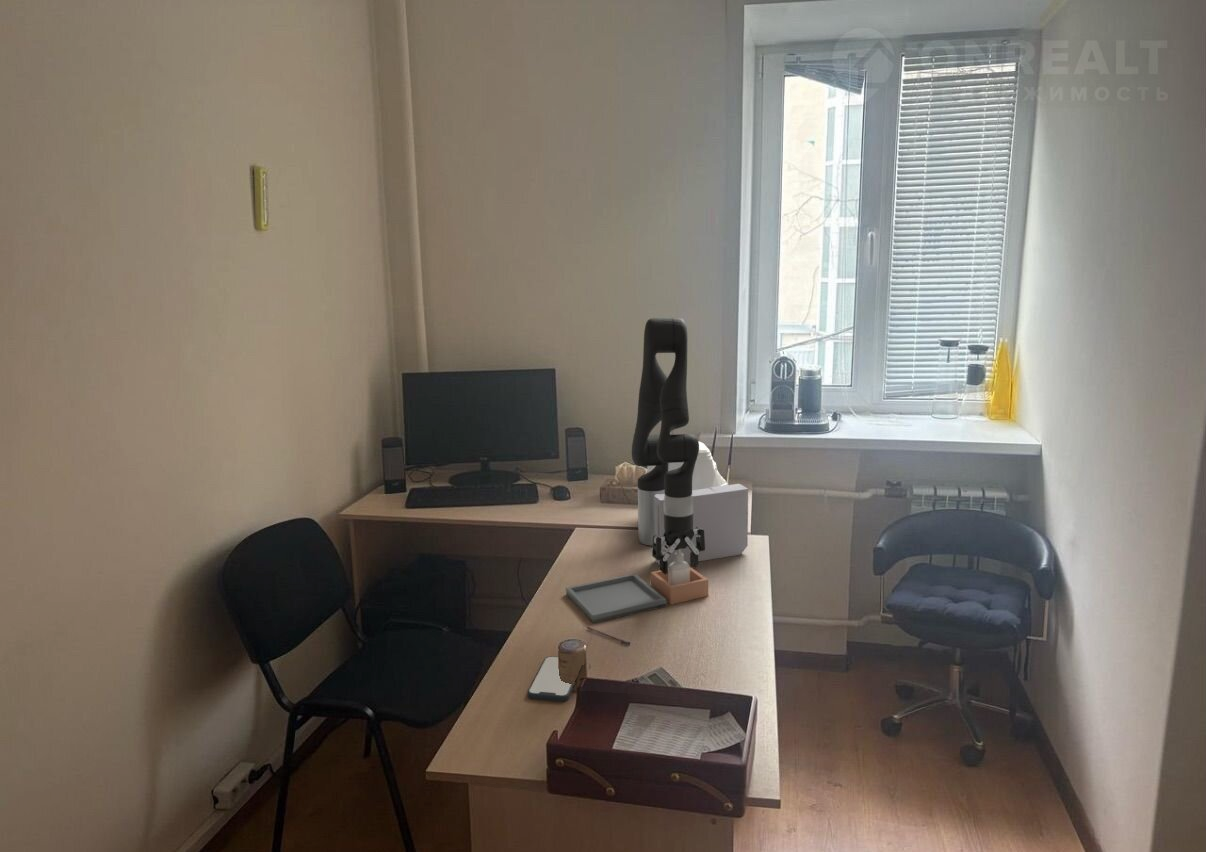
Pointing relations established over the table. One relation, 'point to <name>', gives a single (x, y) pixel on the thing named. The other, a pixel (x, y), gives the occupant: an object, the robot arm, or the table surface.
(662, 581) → the holder box
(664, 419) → the robot arm
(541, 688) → the phone case
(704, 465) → the paper stack
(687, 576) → the eye dropper bottle
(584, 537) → the table surface
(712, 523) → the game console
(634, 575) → the tray
